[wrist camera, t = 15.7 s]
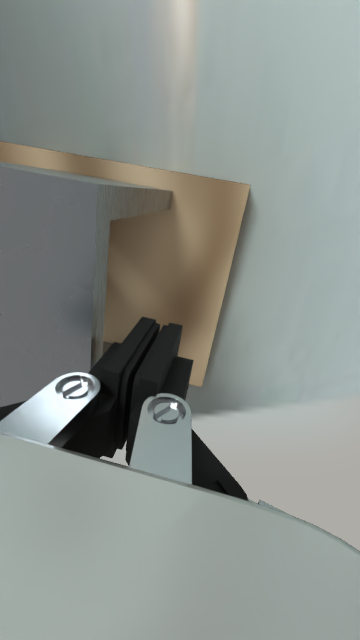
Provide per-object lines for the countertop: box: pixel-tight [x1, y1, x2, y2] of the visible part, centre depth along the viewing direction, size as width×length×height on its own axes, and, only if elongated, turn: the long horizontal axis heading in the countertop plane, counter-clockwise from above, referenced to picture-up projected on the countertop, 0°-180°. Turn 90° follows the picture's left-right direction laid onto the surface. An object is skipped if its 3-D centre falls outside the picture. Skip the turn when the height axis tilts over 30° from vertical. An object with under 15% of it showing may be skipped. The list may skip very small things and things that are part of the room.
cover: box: [0, 162, 173, 459], centre depth 15 cm, size 7×12×10 cm, turn 171°
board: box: [0, 141, 250, 387], centre depth 17 cm, size 20×14×8 cm
